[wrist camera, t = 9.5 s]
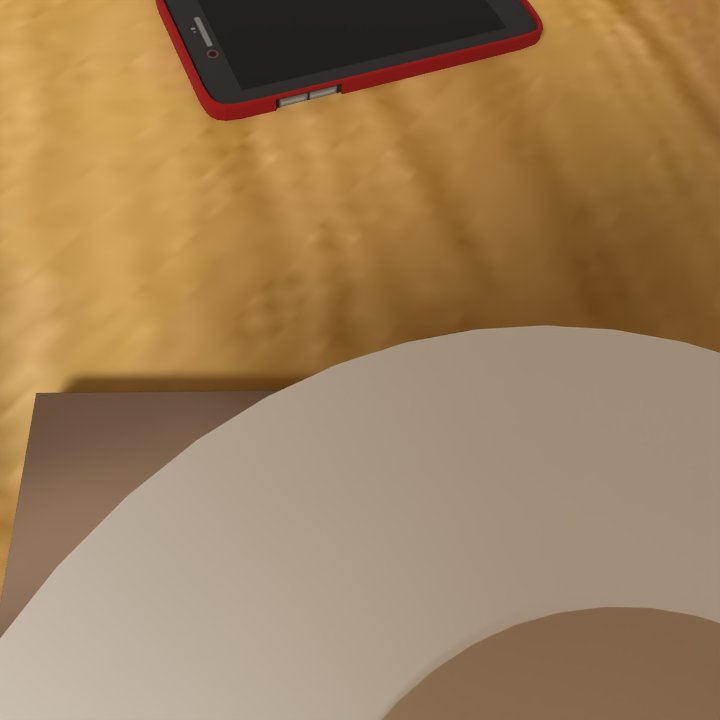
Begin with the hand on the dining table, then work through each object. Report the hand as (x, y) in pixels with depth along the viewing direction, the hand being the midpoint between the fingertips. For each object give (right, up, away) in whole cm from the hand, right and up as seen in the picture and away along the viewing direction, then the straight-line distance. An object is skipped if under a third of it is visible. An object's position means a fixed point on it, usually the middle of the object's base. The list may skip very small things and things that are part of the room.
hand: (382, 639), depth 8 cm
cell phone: (-1, +18, +19) cm, 26 cm away
